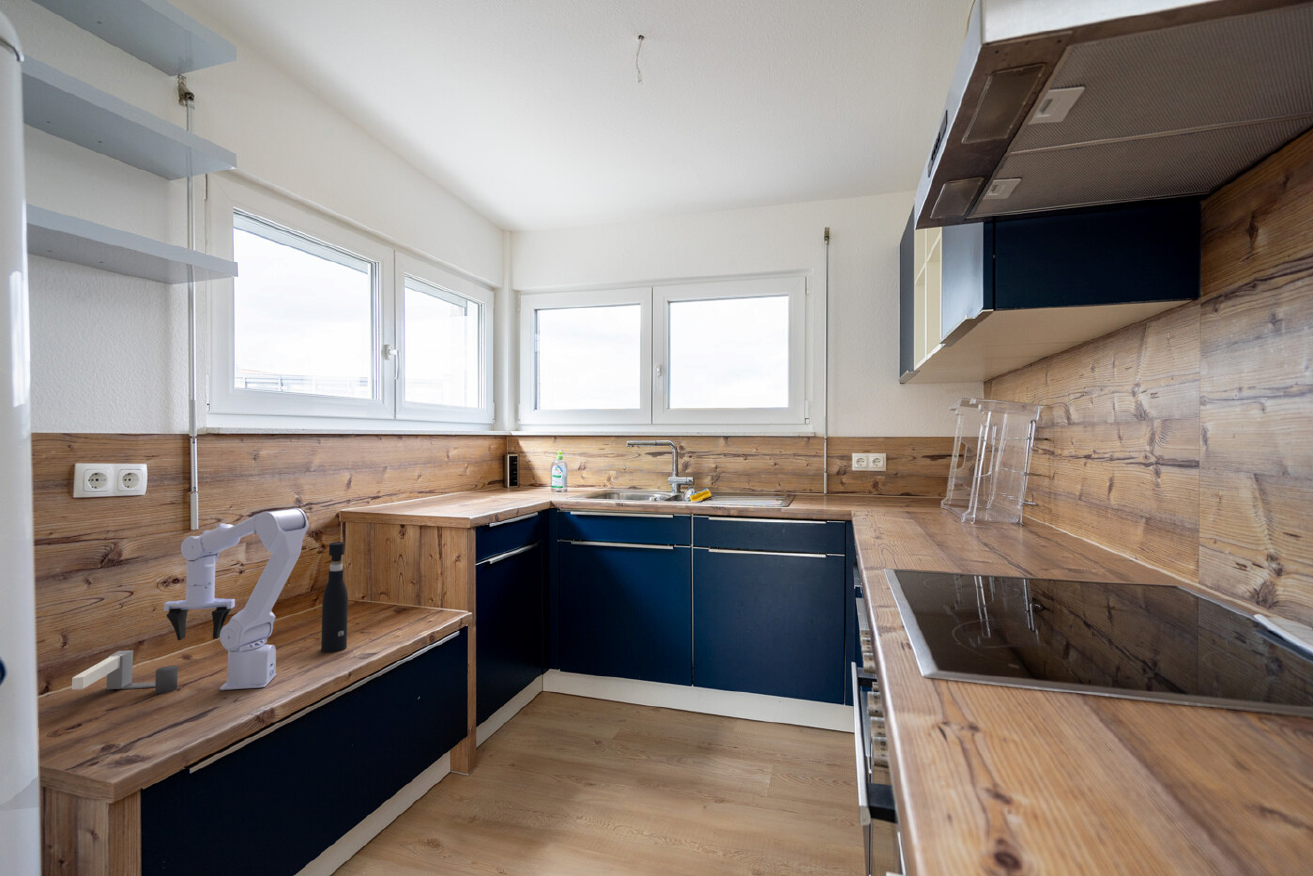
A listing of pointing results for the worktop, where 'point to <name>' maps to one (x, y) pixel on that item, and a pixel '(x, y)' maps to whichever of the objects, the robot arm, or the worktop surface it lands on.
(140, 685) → the rail
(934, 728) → the worktop surface
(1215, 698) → the worktop surface
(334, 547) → the black water bottle
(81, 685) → the tie bar
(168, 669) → the plug
